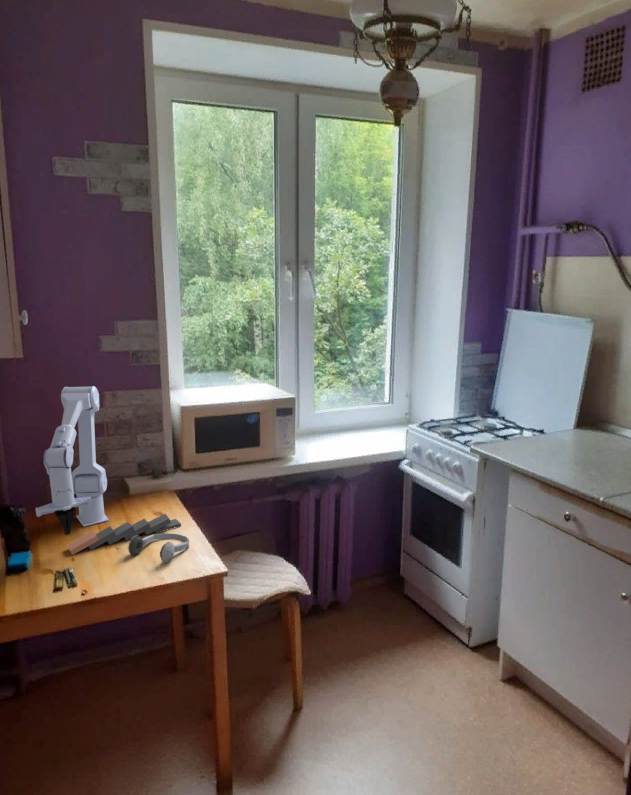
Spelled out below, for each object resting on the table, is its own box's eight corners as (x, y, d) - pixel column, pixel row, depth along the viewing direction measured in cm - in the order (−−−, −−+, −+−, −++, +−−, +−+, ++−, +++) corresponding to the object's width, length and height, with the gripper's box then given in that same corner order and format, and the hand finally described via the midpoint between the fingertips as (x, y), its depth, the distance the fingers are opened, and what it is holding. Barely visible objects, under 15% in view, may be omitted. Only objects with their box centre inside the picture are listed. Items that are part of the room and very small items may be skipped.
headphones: (156, 571, 161) (199, 550, 179) (157, 550, 161) (200, 531, 179) (105, 559, 168) (152, 540, 186) (105, 539, 167) (152, 522, 186)
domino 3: (103, 535, 181) (127, 521, 185) (105, 539, 182) (130, 525, 185) (107, 541, 178) (132, 526, 181) (109, 545, 178) (134, 530, 182)
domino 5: (141, 525, 187) (165, 513, 191) (142, 529, 188) (166, 517, 191) (144, 530, 184) (169, 518, 187) (146, 535, 184) (171, 522, 187)
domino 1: (66, 544, 176) (92, 530, 179) (68, 549, 176) (94, 534, 180) (69, 550, 172) (96, 535, 176) (72, 555, 173) (98, 540, 176)
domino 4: (119, 531, 184) (144, 518, 188) (121, 535, 185) (146, 522, 188) (124, 536, 180) (149, 523, 184) (126, 541, 181) (150, 527, 185)
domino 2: (84, 540, 178) (110, 526, 182) (86, 544, 179) (112, 530, 183) (88, 545, 175) (114, 531, 178) (90, 550, 175) (116, 535, 179)
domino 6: (151, 525, 189) (175, 518, 194) (151, 529, 190) (175, 523, 194) (156, 529, 186) (180, 523, 190) (156, 534, 186) (181, 528, 190)
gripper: (36, 498, 163) (42, 545, 166) (92, 487, 171) (96, 531, 174) (32, 490, 168) (37, 535, 172) (86, 479, 176) (90, 523, 179)
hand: (67, 533), depth 173 cm, fingers closed
